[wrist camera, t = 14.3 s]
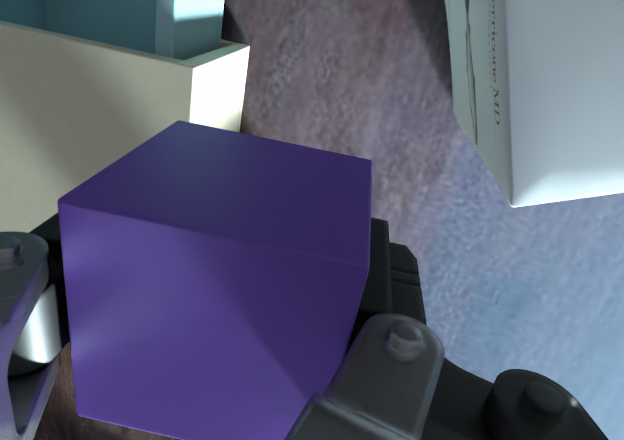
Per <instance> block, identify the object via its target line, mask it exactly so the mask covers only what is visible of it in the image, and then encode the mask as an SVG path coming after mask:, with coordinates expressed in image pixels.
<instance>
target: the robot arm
mask: <svg viewBox="0 0 624 440" xmlns="http://www.w3.org/2000/svg"><path fill="white" fill-rule="evenodd" d="M418 274H419V271H418V264H417V259H416V258H415V257H414V255H413V254H412V253H411V251H410V250H409V249H408V248H407V246H405V245H400V244H395V243H391V242H389V228H388V221H385V220H381V219H376V218H371V231H370V269H369V272H368V276H367V279H366V283H365V287H364V290H363V294H362V297H361V301H360V305H359V308H358V312H357V315H356V319H355V323H354V326H353V330H352V334H351V337H350V341H349V344H348V348H347V352H346V355H345V358H344V359H343V361H342V363H341V364H340V366H339V368H338V369H337V371H336V373H335V375H334V376H333V378H332V380H331V381H330V383H329V385H328V386H327V388H326V390H325V392H324V393H323V395H321V394H319V393H314V394H313V395H312V396H311V398H310V399H309V400H308V402H307V403H306V405H305V407H304V408H303V410H302V411H301V413H300V415H299V416H298V418H297V420H296V421H295V423H294V424H293V426H292V428H291V429H290V431H289V433H288V434H287V436H286V437H285V439H284V440H608V438H607V437H606V436H605V434H604V433H603V432H602V431H601V429H600V428H599V427H598V426H597V424H596V423H595V422H594V421H593V419H592V418H591V417H590V416H589V414H588V413H587V412H586V410H585V409H584V408H583V407H582V405H581V404H580V403H579V402H578V401H577V400H576V398H575V397H574V396H573V395H571V394H570V393H569V392H568V391H567V390H566V389H564V388H563V387H562V386H560V385H559V384H557V383H556V382H554V381H553V380H551V379H549V378H547V377H545V376H543V375H540V374H538V373H535V372H532V371H528V370H522V369H510V370H506V371H504V372H502V373H500V374H499V375H498V376H497V378H496V380H495V382H494V384H493V383H491V382H489V381H487V380H484V379H482V378H480V377H478V376H476V375H474V374H471V373H469V372H467V371H465V370H463V369H461V368H459V367H458V366H456V365H454V364H453V363H451V362H450V361H449V360H447V359H446V358H445V357H444V355H445V352H444V347H443V344H442V342H441V340H440V339H439V337H438V336H437V335H436V334H435V333H434V332H433V331H432V330H431V329H430V328H429V327H427V324H426V318H425V311H424V304H423V298H422V291H421V287H420V285H421V284H420V278H419V276H418ZM68 342H70V336H69V325H68V314H67V303H66V292H65V281H64V270H63V259H62V248H61V237H60V226H59V215H58V213H56V214H55V215H53V216H52V217H51V218H49V219H48V220H46V221H45V222H43V223H42V224H41V225H39V226H38V227H36V228H35V229H33V230H32V231H31V232H29V233H26V232H17V231H7V232H0V440H33V438H34V435H35V433H36V430H37V428H38V425H39V422H40V420H41V417H42V414H43V412H44V409H45V406H46V404H47V401H48V398H49V396H50V393H51V390H52V388H53V385H54V383H55V380H56V377H57V375H58V372H59V369H60V365H61V359H60V351H61V350H62V348H63V347H64V346H65V345H66V344H67V343H68Z"/></svg>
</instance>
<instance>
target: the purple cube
mask: <svg viewBox="0 0 624 440" xmlns="http://www.w3.org/2000/svg"><path fill="white" fill-rule="evenodd" d="M371 189H372V161H371V160H368V159H363V158H358V157H353V156H349V155H344V154H339V153H334V152H330V151H325V150H320V149H315V148H310V147H306V146H301V145H296V144H291V143H286V142H282V141H277V140H272V139H267V138H262V137H258V136H253V135H248V134H243V133H239V132H234V131H229V130H224V129H219V128H215V127H210V126H205V125H200V124H195V123H191V122H186V121H181V120H178V121H176V122H174V123H173V124H171V125H170V126H168V127H167V128H165V129H164V130H162V131H161V132H159V133H158V134H156V135H155V136H153V137H152V138H150V139H149V140H147V141H146V142H144V143H142V144H141V145H139V146H138V147H136V148H135V149H133V150H132V151H130V152H129V153H127V154H126V155H124V156H123V157H121V158H120V159H118V160H117V161H115V162H113V163H112V164H110V165H109V166H107V167H106V168H104V169H103V170H101V171H100V172H98V173H97V174H95V175H94V176H92V177H91V178H89V179H88V180H86V181H85V182H83V183H81V184H80V185H78V186H77V187H75V188H74V189H72V190H71V191H69V192H68V193H66V194H65V195H63V196H62V197H60V198H59V199H58V202H57V204H58V215H59V226H60V237H61V248H62V259H63V270H64V281H65V292H66V303H67V314H68V325H69V336H70V347H71V358H72V369H73V380H74V391H75V402H76V413H77V415H79V416H82V417H87V418H91V419H95V420H100V421H104V422H108V423H113V424H117V425H121V426H126V427H130V428H134V429H138V430H143V431H147V432H151V433H156V434H160V435H164V436H169V437H173V438H177V439H182V440H284V439H285V437H286V436H287V434H288V433H289V431H290V429H291V428H292V426H293V424H294V423H295V421H296V420H297V418H298V416H299V415H300V413H301V411H302V410H303V408H304V407H305V405H306V403H307V402H308V400H309V399H310V398H311V396H312V395H313V394H314V393H319V394H321V395H323V393H324V392H325V390H326V388H327V386H328V385H329V383H330V381H331V380H332V378H333V376H334V375H335V373H336V371H337V369H338V368H339V366H340V364H341V363H342V361H343V359H344V358H345V355H346V352H347V348H348V344H349V341H350V337H351V334H352V330H353V326H354V323H355V319H356V315H357V312H358V308H359V305H360V301H361V297H362V294H363V290H364V287H365V283H366V279H367V276H368V272H369V269H370V231H371Z"/></svg>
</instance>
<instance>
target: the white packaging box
mask: <svg viewBox="0 0 624 440" xmlns="http://www.w3.org/2000/svg"><path fill="white" fill-rule="evenodd" d="M445 6H446V14H447V24H448V35H449V47H450V60H451V74H452V89H453V113H454V116H455V118H456V120H457V121H458V123H459V125H460V126H461V128H462V130H463V131H464V133H465V134H466V136H467V138H468V139H469V141H470V142H471V144H472V146H473V147H474V149H475V150H476V152H477V154H478V155H479V157H480V158H481V160H482V161H483V163H484V164H485V166H486V167H487V169H488V170H489V172H490V173H491V175H492V177H493V178H494V180H495V182H496V183H497V184H498V186H499V188H500V189H501V191H502V192H503V194H504V196H505V197H506V199H507V200H508V202H509V204H510V206H512V207H520V206H526V205H534V204H542V203H549V202H557V201H564V200H572V199H579V198H586V197H594V196H602V195H609V194H616V193H623V192H624V0H445Z"/></svg>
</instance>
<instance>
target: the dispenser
mask: <svg viewBox="0 0 624 440" xmlns="http://www.w3.org/2000/svg"><path fill="white" fill-rule="evenodd" d="M249 48H250V46H249V45H246V44H242V43H237V42H232V41H228V40H223V39H221V42H220V48H219V49H216V50H213V51H210V52H207V53H204V54H201V55H198V56H195V57H192V58H189V59H186V60H179V59H175V58H170V57H165V56H161V55H156V54H152V53H147V52H143V51H138V50H133V49H129V48H124V47H120V46H115V45H111V44H106V43H101V42H97V41H92V40H88V39H83V38H79V37H74V36H69V35H65V34H60V33H56V32H51V31H47V30H42V29H37V28H33V27H28V26H24V25H19V24H15V23H10V22H5V21H1V20H0V232H7V231H17V232H26V233H29V232H31V231H32V230H33V229H35V228H36V227H38V226H39V225H41V224H42V223H43V222H45V221H46V220H48V219H49V218H51V217H52V216H53V215H55V214H56V213H58V204H57V202H58V199H59V198H60V197H62V196H63V195H65V194H66V193H68V192H69V191H71V190H72V189H74V188H75V187H77V186H78V185H80V184H81V183H83V182H85V181H86V180H88V179H89V178H91V177H92V176H94V175H95V174H97V173H98V172H100V171H101V170H103V169H104V168H106V167H107V166H109V165H110V164H112V163H113V162H115V161H117V160H118V159H120V158H121V157H123V156H124V155H126V154H127V153H129V152H130V151H132V150H133V149H135V148H136V147H138V146H139V145H141V144H142V143H144V142H146V141H147V140H149V139H150V138H152V137H153V136H155V135H156V134H158V133H159V132H161V131H162V130H164V129H165V128H167V127H168V126H170V125H171V124H173V123H174V122H176V121H178V120H181V121H186V122H191V123H195V124H200V125H205V126H210V127H215V128H219V129H224V130H229V131H234V132H240V123H241V115H242V107H243V98H244V90H245V82H246V73H247V65H248V57H249Z"/></svg>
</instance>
